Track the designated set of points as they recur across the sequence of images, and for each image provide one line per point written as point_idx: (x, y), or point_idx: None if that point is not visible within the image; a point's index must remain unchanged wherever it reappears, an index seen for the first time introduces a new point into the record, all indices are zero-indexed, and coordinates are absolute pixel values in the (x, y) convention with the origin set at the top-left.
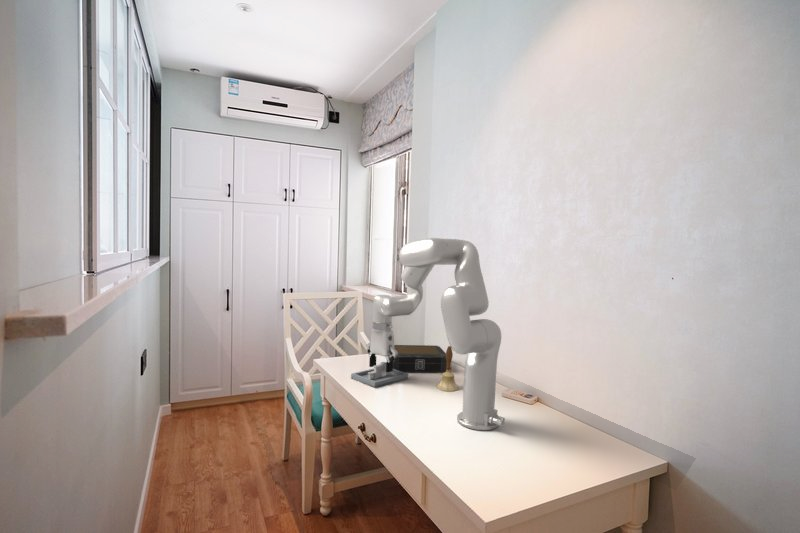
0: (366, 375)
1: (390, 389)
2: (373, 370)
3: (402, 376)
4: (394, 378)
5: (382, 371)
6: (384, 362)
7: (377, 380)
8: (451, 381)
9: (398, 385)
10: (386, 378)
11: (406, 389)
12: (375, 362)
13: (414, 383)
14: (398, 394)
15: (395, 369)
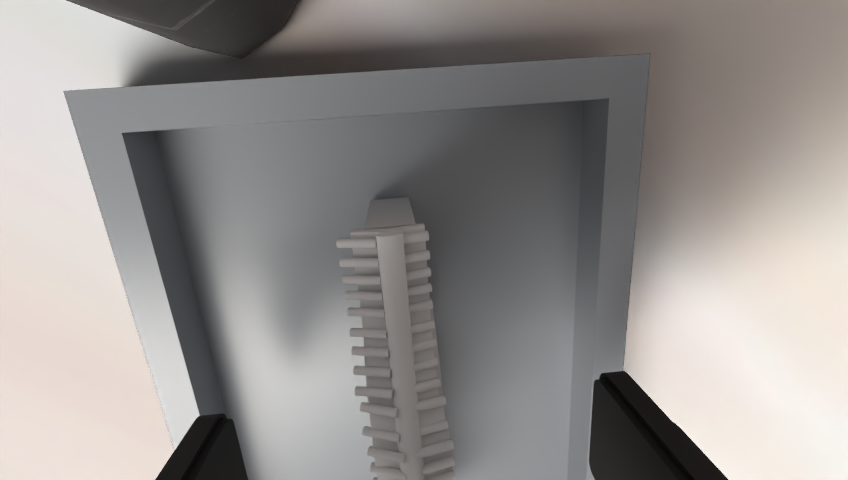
0: (266, 448)
1: (698, 436)
2: (191, 349)
3: (629, 181)
4: (620, 322)
5: (205, 197)
6: (427, 454)
7: (477, 439)
8: None
9: (682, 318)
10: (590, 423)
11: (806, 325)
12: (209, 476)
13: (770, 127)
14: (818, 447)
15: (282, 6)
